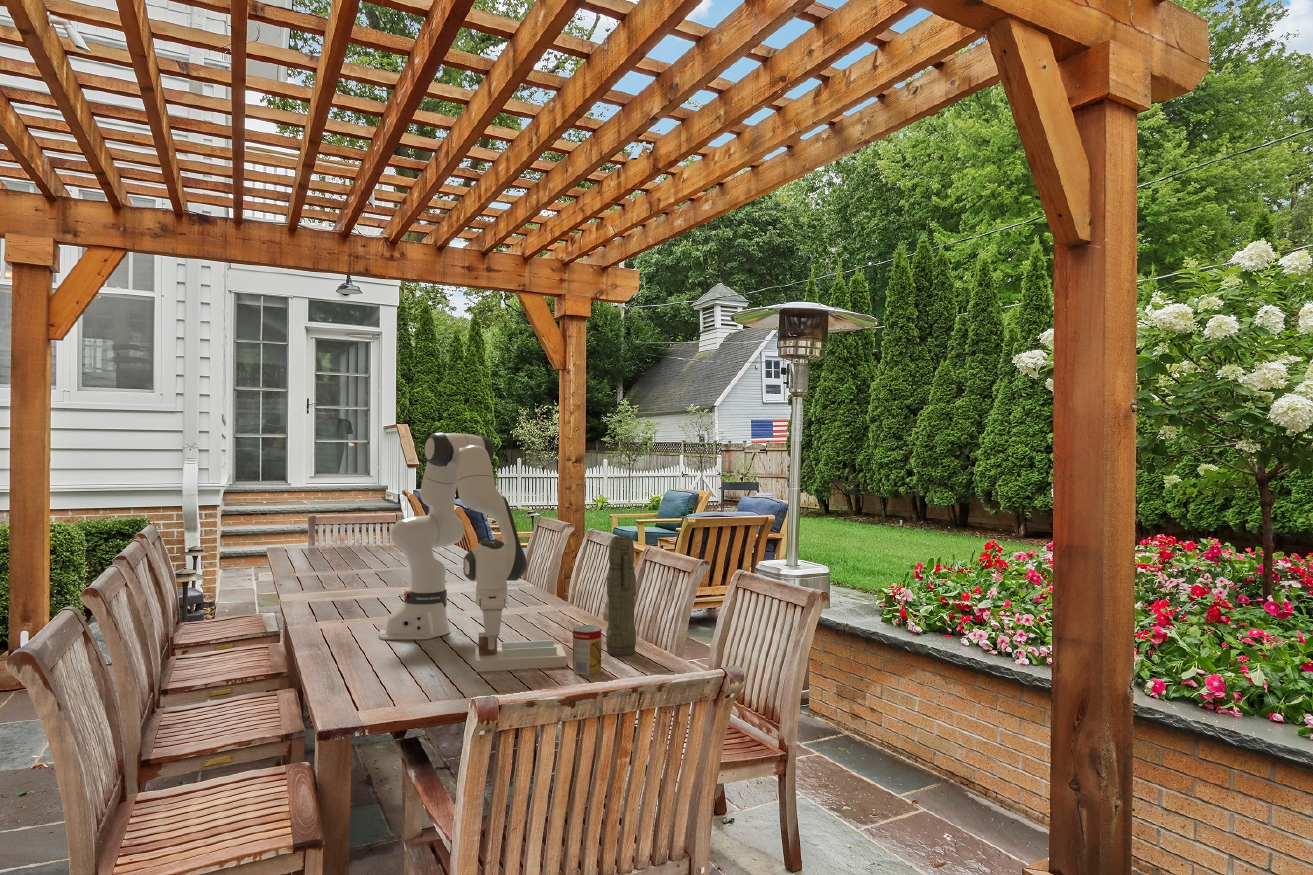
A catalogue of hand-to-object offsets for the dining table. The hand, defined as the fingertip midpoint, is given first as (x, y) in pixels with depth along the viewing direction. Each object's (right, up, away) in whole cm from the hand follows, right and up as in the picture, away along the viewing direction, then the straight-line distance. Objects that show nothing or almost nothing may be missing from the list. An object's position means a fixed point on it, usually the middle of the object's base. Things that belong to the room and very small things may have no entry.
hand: (491, 645), depth 233 cm
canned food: (+28, -6, -7) cm, 29 cm away
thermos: (+37, -6, +13) cm, 39 cm away
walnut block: (-1, -2, 0) cm, 2 cm away
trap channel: (+8, -5, +2) cm, 10 cm away
